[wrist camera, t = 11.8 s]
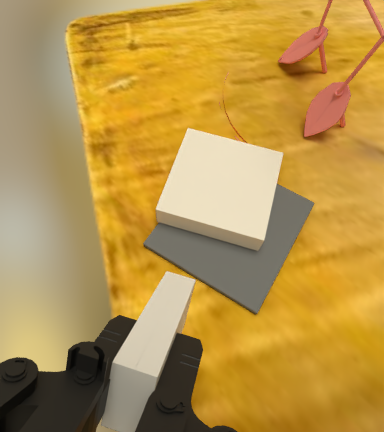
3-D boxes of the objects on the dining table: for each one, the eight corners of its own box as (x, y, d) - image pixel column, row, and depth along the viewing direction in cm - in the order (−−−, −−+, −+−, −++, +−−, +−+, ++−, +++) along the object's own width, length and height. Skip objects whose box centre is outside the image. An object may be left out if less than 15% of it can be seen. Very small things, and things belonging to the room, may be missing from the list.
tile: (155, 209, 31) (188, 127, 35) (156, 222, 33) (187, 144, 38) (264, 240, 30) (283, 152, 34) (257, 251, 32) (276, 168, 37)
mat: (312, 205, 35) (314, 202, 35) (255, 314, 30) (257, 313, 29) (212, 154, 38) (212, 150, 37) (143, 246, 33) (143, 243, 32)
